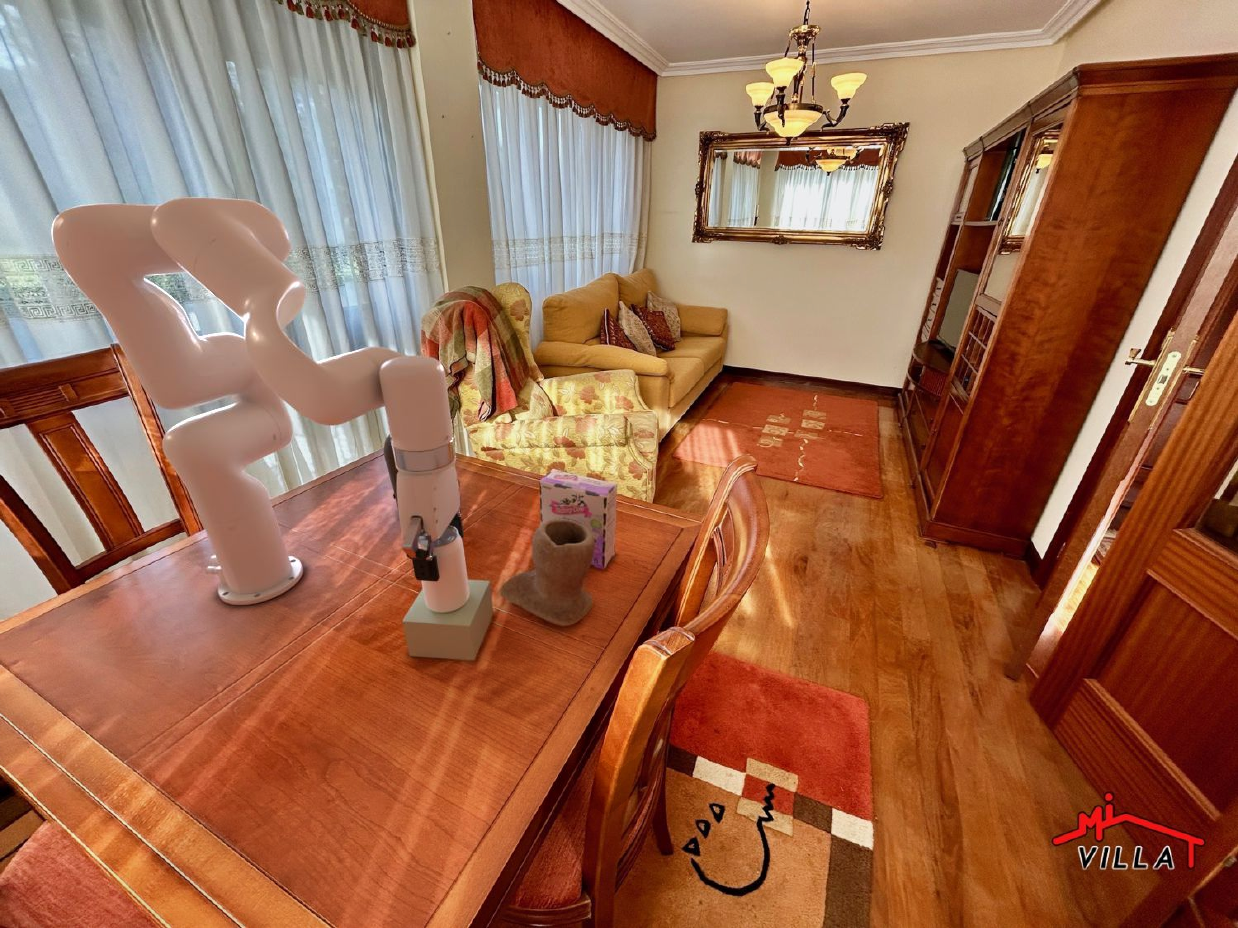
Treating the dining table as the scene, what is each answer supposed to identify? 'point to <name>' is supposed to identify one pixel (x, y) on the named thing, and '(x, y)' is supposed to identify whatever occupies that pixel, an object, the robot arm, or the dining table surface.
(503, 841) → the dining table surface
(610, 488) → the candy box
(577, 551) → the stone cup
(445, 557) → the can
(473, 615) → the block
